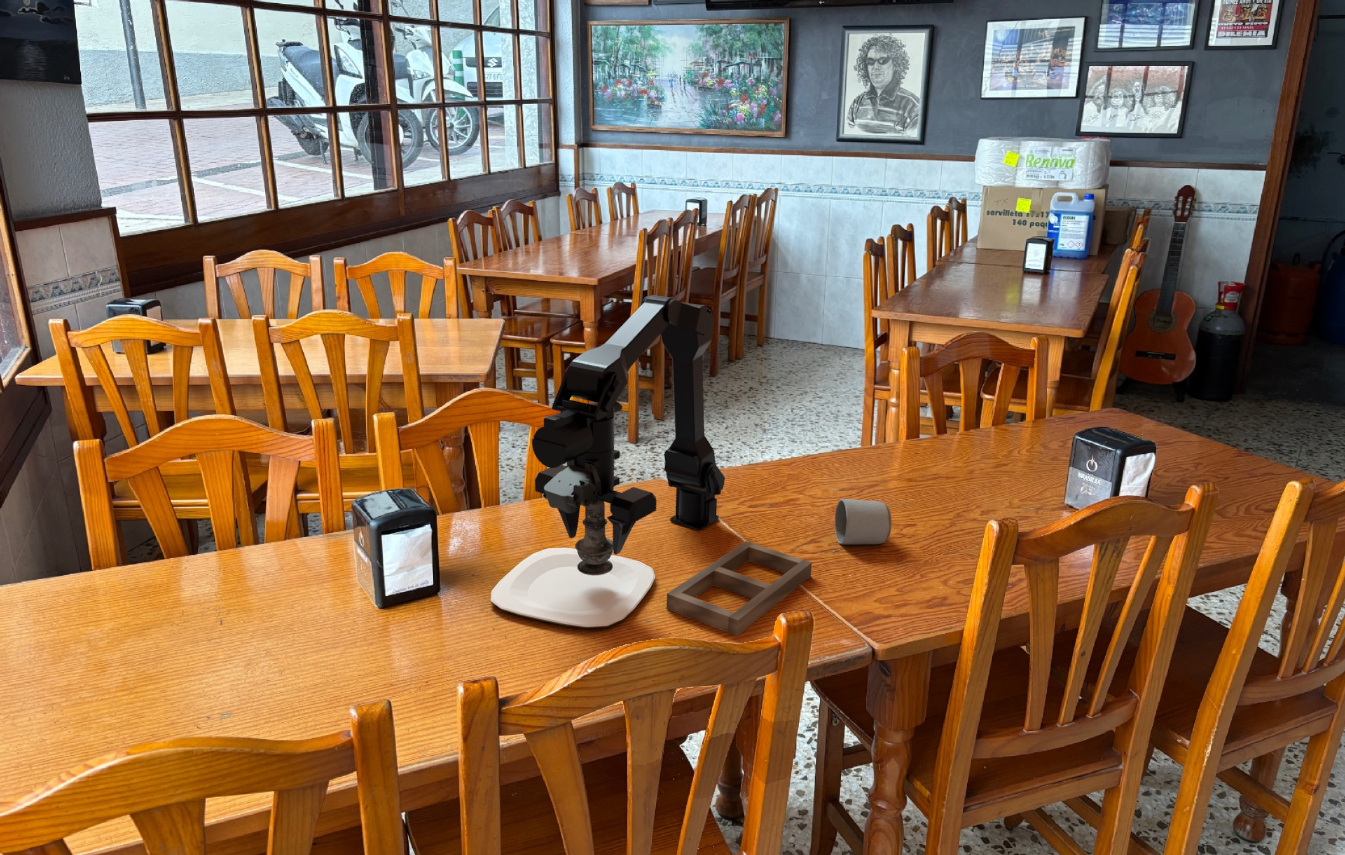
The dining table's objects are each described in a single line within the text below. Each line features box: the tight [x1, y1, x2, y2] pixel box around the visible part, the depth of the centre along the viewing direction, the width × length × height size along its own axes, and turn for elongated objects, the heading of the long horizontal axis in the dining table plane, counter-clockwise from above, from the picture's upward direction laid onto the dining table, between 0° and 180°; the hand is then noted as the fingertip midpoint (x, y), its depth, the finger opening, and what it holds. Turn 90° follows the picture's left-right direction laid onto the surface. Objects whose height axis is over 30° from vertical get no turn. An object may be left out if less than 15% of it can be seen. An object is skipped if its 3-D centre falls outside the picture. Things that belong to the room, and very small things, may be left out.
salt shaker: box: [574, 499, 614, 575], centre depth 135 cm, size 6×6×12 cm
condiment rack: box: [665, 541, 813, 637], centre depth 138 cm, size 12×22×2 cm, turn 145°
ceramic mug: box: [834, 498, 893, 545], centre depth 156 cm, size 11×8×8 cm
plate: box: [490, 547, 656, 629], centre depth 137 cm, size 22×22×2 cm
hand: (594, 545), depth 136 cm, fingers closed on salt shaker, 8 cm apart
